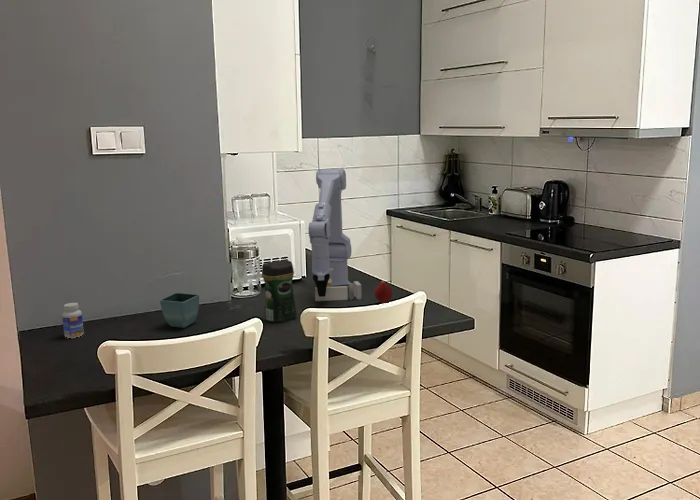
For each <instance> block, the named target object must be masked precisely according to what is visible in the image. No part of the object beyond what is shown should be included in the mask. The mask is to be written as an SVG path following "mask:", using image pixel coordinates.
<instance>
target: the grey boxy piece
mask: <svg viewBox="0 0 700 500" xmlns="http://www.w3.org/2000/svg"><path fill="white" fill-rule="evenodd" d="M347 289H348V300H349V299H350V301H353V300H352V299H354V300H355V298H356V300H362V284H361V283H360V282H359V281H358V280H355V281H353V282H350V283H349V284H348V285H347Z"/></svg>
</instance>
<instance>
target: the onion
mask: <svg viewBox="0 0 700 500" xmlns="http://www.w3.org/2000/svg"><path fill="white" fill-rule="evenodd" d="M374 297H375V299H376V300H377V301H378V302H379V303H380V304H382V303H385V304H386V303H388V302H389V301H390V300H391V299H392V298H393V290H392V287H390V285H389V284H388V283H386V282H385V281H384V280H381V281H380V283H379V285H377V287H376V288H375V290H374Z"/></svg>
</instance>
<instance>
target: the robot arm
mask: <svg viewBox="0 0 700 500" xmlns="http://www.w3.org/2000/svg"><path fill="white" fill-rule="evenodd" d="M315 182H316V185H317V187H318V189H319V200H318V202H317V203H316V204H315V206H314V209H313V216H312V221H311V222H308V223H309V224H308V228H307V229H308V230H307V231H308V237H309V243H310V244H311V262H312V263H311V268H312V269H311V273H312V274H313V275H312V280H313V281H314V284H315V285H316V287H317V291H318V295H319V297H324V296H325V295H326V287H327V283H328V281H329V279H332V287H337V286H348V284H349V283H351V281H350V280H349V272H348V269H349V268H348V267H349V266H348V260H349V259H351V256H352V245H351V238H350V237H348V236H347V235H346V234H344V232H343V217H342V216H343V211H342V208H343V207H342V191H345V190H346V189H347V174H346V170H345V169H344V168H342V167H341V168H318V169H317V170H316V173H315Z"/></svg>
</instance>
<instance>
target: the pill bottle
mask: <svg viewBox="0 0 700 500" xmlns="http://www.w3.org/2000/svg"><path fill="white" fill-rule="evenodd" d="M79 307H80V305H79V303H78V302H69V303H65V304H64V305H63V310H64V311H63V312H62V314H61V316H62V319H61V320H62V324H63V327H62V328H63V334H64V337H65V338H66V337H67V338H66V339H69V338H71V339H77V338H76V337H78V338H81V337H83V336H84V335H85V329H84V321H83V313H82V311H81V309H79ZM83 334H84V335H83ZM82 335H83V336H82ZM80 336H81V337H80Z"/></svg>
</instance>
